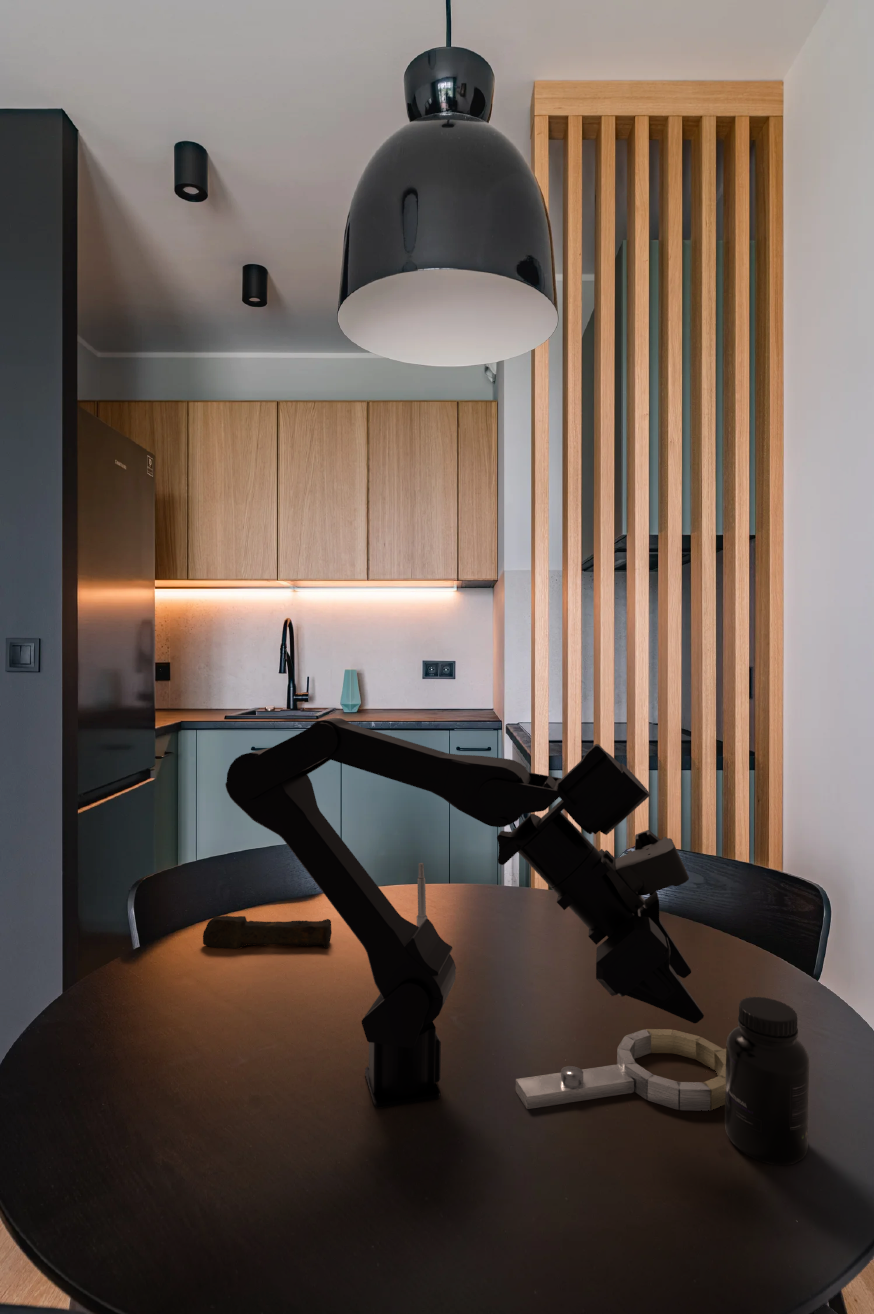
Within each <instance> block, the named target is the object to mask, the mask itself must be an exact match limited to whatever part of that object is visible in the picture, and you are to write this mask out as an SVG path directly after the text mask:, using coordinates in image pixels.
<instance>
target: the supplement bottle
mask: <svg viewBox="0 0 874 1314" xmlns="http://www.w3.org/2000/svg"><path fill="white" fill-rule="evenodd" d="M737 1025H738V1026H736V1027H735V1028H733V1029H732V1030H731V1031H730V1032H729V1034H728V1035H727V1037H726V1043H725V1044H726V1045H725V1046H726V1047H725V1049H726V1080H725V1105H724V1127H725V1132H726V1134H727V1137H728V1138H729V1140H730V1141H731V1143H732V1144H733V1145H734V1146H735V1147H736V1148H737V1149H738V1150H740V1151H741V1152H742V1153H744V1154H745V1155H747V1156H749V1157H750V1158H753V1159H754V1160H757V1161H760V1162H763V1163H766V1164H771V1165H777V1166H786V1165H787V1166H788V1165H793V1164H796V1163H798V1162H799V1161H801V1160H802V1159H804V1157H805V1156H806V1154H807V1151H808V1141H809V1109H810V1108H809V1106H810V1105H809V1104H810V1102H809V1101H810V1100H809V1099H810V1098H809V1097H810V1057H809V1054H808V1051H807V1050H806V1047H804V1045H803V1043H801V1041H800V1040H799V1039H798V1037H799V1028H798V1013H797V1011H796V1010H795V1009H794V1008H792V1007H791V1006H790V1005H787V1004H786V1003H784V1002H782V1001H779V1000H777V999H773V998H768V997H762V996H749V997H745V998H742V999H741V1000H740V1002H739V1003H738V1016H737Z"/></svg>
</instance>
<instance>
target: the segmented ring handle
mask: <svg viewBox="0 0 874 1314" xmlns="http://www.w3.org/2000/svg"><path fill="white" fill-rule="evenodd" d="M648 1033H650V1032H649V1031H648V1032H647V1030H646V1029H641V1030H638V1031H635V1032H633V1033H629V1034H627V1035H625V1036H623V1038H622V1040H621V1041H620V1043H619V1045H618V1046H617V1049H616V1050H617V1052H616V1055H617V1058H616V1064H611V1065H604V1066H598V1067H590V1068H585V1069H583V1068H582V1069H581V1068H579V1067H577V1066H574V1065H573V1066H572V1065H567V1066H564V1067H562V1068H561V1069H560V1072H557V1073H556V1072H555V1073H548V1074H543V1075H542V1074H541V1075H536V1076H529V1077H521V1078H515V1092H516V1094H517V1096H518V1097H519V1099H520V1100H521V1103H522V1104H523V1106H524V1107H525V1108H526V1109H527V1110H530V1109H536V1108H537V1109H538V1108H544V1107H550V1106H556V1105H562V1104H571V1103H575V1102H581V1101H583V1102H584V1101H588V1100H594V1099H595V1100H596V1099H603V1098H606V1097H607V1098H608V1097H614V1096H620V1095H626V1094H632V1093H636V1094H637V1095H639V1096H641V1098H643V1099H645V1100H646V1101H649V1102H651V1103H654V1104H658V1105H661V1106H665V1107H668V1108H671V1109H674V1110H676V1111H677V1110H679V1111H698V1112H699V1111H701V1110H702V1111H703V1112H704V1111H706V1112H709V1111H711V1110H710V1088H709V1087H707V1086H708V1085H704V1084H703V1083H705V1081H703V1082H699V1081H697V1082H696V1081H695V1082H694V1081H693V1082H692V1081H691V1082H690V1081H676V1080H673V1079H670V1078H666V1077H663V1076H659V1075H656V1074H653V1073H651V1072H650V1071H648V1070H647V1069H645V1068H644V1067H643V1066H641V1065H639V1064H638V1063H637V1062H636V1061H635V1060H636V1059H638V1058H641V1057H644V1056H646V1055H649V1054H652V1053H651V1035H649V1034H648ZM650 1034H651V1033H650ZM708 1110H709V1111H708Z"/></svg>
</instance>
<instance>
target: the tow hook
mask: <svg viewBox="0 0 874 1314" xmlns="http://www.w3.org/2000/svg"><path fill="white" fill-rule="evenodd" d="M424 868H425V866H424V862H420V863H419V862H418V877H417V879H416V880H417V882H416V883H417V915H416V926H418V927H419V926H420V925H421V924H422V923H423V921H424V920H425V919H429V918H428V915H427V905H426V904H427V903H426V902H427V901H426V898H427V897H426V895H427V894H426V877H425V871H424V870H425V869H424Z"/></svg>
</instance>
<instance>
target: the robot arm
mask: <svg viewBox="0 0 874 1314" xmlns="http://www.w3.org/2000/svg"><path fill="white" fill-rule="evenodd" d="M329 761H334V762H336V763H340V764H343V765H346V766H349V767H351V768H355V769H358V770H361V771H365V772H366V773H367V772H368V773H370V774H374V775H377V776H380V777H384V778H386V779H390V780H392V781H396V782H399V783H403V784H405V785H408V786H412V787H415V788H417V789H421V790H423V791H427V792H430V793H432V794H434V795H436V796H438V797H439V798H441V799H442V800H444V801H446V802H447V803H449V804H450V805H451V806H452V807H454V808H455V809H457V810H458V811H459V812H461V813H464V815H465V814H466V815H468V816H469V817H470V818H473V819H475V820H477V821H479V822H480V823H483V824H485V825H487V826H490V827H493V828H503V827H507V826H510V825H511V824H514V823H515V822H517V821H518V820H520V818H521V817H522V816H523V815H524V814H530V815H528V816H527V817H526V818H525V819H524V820H523V821H522V822H521V823H519V825H518V826H516V827H515V829H513V830H512V831H506V830H501V831H500V832H499V833H498V834H497V837H496V840H497V844H498V856H497V863H498V865H500V866H504V865H505V864H506V863H508V862H509V861H510V860H511V859H512V858H513V857H514V856H515V855H516V854H517V853H518V854H519V855H520V856H521V857H522V858H523V860H525V861H526V862H527V863H528V865H529V866H530V867H531V868H532V869H533V870H534V871H535V872H536V873H537V875H539V876H540V878H541V879H542V880H543V881H544V882H545V883H546V884H547V885H548V886H549V888H551V889H552V890H553V892H554V893H555V894H556V895H557V899H556V903H557V904H558V905H559V907H560V908H561V909H562V910H564V911H565V910H567V909H568V908H569V909H570V910H571V911H572V912H573V914H575V915H576V917H577V918H579V920H580V921H581V922H582V923H583V924H584V925H585V927H587V928H588V938H589V939H590V940H591V941H592V942H593V943H594V944H595V945H597V947H596V951H595V952H596V957H595V960H596V961H595V967H596V968H595V979H596V980H597V982H598V983H599V984H600V986H602V987H603V988H604V989H605V990H606V992H607V993H608V994H609V995H611V997H614V996H618V995H619V997H622V998H623V997H625V996H626V997H628V998H629V997H630V998H632V999H635V1000H637V1001H640V1002H643V1003H645V1004H647V1005H648V1004H649V1005H650V1006H653V1007H655V1008H658V1009H660V1010H663V1011H664V1012H666V1013H670V1014H672V1015H673V1016H676V1017H678V1018H681V1019H683V1020H684V1021H688V1022H690V1023H692V1024H698V1023H699V1022H700V1021H701V1020H702V1019H704V1017H705V1015H704V1011H702V1009H701V1008H700V1006H699V1005H698V1003H697V1002H696V1000H695V998H694V997H693V996H692V994H691V993H690V991H689V989H687V987H686V986H685V984H684V983H683V982H682V980H681V978H682V979H686V978H687V977H689V976H690V975H691V973H692V968H691V967H690V965H689V964H688V962H687V960H686V959H685V958H684V956H683V954H682V953H681V951H680V949H679V947H678V946H677V944H676V943H675V941H674V940H673V938H672V937H671V935H670V934H669V932H668V929H666V927H665V925H664V923H663V922H662V920H661V919H660V899H659V894H658V891H661V890H663V889H666V888H669V887H672V886H673V887H679V886H682V885H684V884H685V883H686V882H688V881H689V879H690V876H689V875H688V871H687V869H686V867H685V864H684V862H683V860H682V858H681V856H680V854H679V852H678V850H677V847H676V845H675V844H674V842H673V840H672V838H671V837H670V838H669V837H667V836H664V837H662V839H661V838H660V837H658V836H657V835H656V834H654V833H653V832H652V831H651V830H649V829H647V830H644V831H641V832H638V833H636V834H634V850H632V849H629V850H628V851H627V853H626V854H624V855H622V856H619V857H617V858H616V857H614V855H613V854H611V853H610V851H609V850H608V849H606V850H604V849H603V848H601V849H599V850H598V849H597V848H596V847H595V846H594V845H593V843H591V842H590V840H589V839H588V838H587V837H586V836H585V835H584V834H583V833H582V832H581V831H580V830H579V829H578V828H577V827H576V826H575V825H574V823H572V822H571V820H569V818H567V816H566V815H565V814H564V813H563V810H564V811H565V812H566V813H567V814H568V815H569V816H570V817H571V819H572V820H573V821H574V822H575V823H576V824H577V825H578V827H580V828H581V830H583V831H585V832H586V833H587V834H589V835H592V834H594V835H596V834H598V833H599V832H601V834H602V835H606V836H607V835H608V834H610V833H611V832H612V831H613V830H614V829H615V828H616V827H617V826H618V825H620V823H622V822H623V821H624V820H625V819H626V818H627V817H628V816H629V815H631V814H632V813H633V812H634V811H635V810H636V809H637V808H638V807H639V806H640V805H641V804H643V802H645V801H646V800H647V799H648V798H649V797H650V796H651V793H650V792H649V790H648V789H647V788H646V786H645V785H644V784H642V782H641V781H640V780H639V779H638V778H637V777H636V775H634V774H633V772H631V770H630V769H629V768H628V767H627V765H625V763H620V762H619V761H618V760H617V759H616V758H614V757H613V756H612V755H611V754H610V753H608V752H607V751H606V750H605V749H604V748H603V747H602V746H601V745H600V744H599V743H595V744H594V745H593V746H592V747H590V749H588V751H587V752H586V753H585V755H584V756H583V757H582V759H581V760H579V762H578V763H577V764H576V765H575V766H573V768H572V769H570V771H568V772H567V773H566V774H565V775H564V776H563V777H562V778H561V777H556V776H552V775H545V774H542V773H541V774H540V773H536V772H535V773H534V772H529V771H528V769H527V768H526V767H525V766H524V764H522V763H520V762H519V761H516V760H514V759H510V758H504V757H503V758H502V757H496V756H495V757H493V756H487V755H476V754H475V755H474V754H473V755H472V754H458V753H447V752H444V751H441V750H437V749H435V748H432V747H429V746H424V745H422V744H418V743H415V742H412V741H408V740H405V739H403V738H399V737H395V736H392V735H389V734H386V733H382V732H379V731H376V730H373V729H369V728H365V727H363V726H359V725H357V724H353V723H350V722H349V721H347V720H345V719H344V718H341V717H331V718H327V719H321V720H318V721H315V722H314V723H312V724H311V725H310V727H308V728H306V729H304V730H303V731H301V732H299V733H298V734H295V735H293V736H292V737H289V738H287V739H286V740H283V741H282V742H280V743H278V744H275V745H273V746H272V747H268V748H264V749H259V750H255V751H251V752H247V753H243V754H241V755H239V756H238V757H235V759H234V760H233V762H231V763H230V765H229V768H228V770H227V773H226V781H225V783H224V785H225V789H226V793H227V794H228V796H229V798H230V799H231V800H232V801H233V803H235V805H236V806H238V807H239V809H241V810H242V811H243V812H244V813H245V814H246V815H247V816H248V817H249V818H250V819H251V820H252V821H254V822H255V823H257V824H258V825H261V826H262V827H264V828H266V829H267V830H268V831H270V832H272V833H274V834H276V835H278V836H279V837H280V838H281V839H282V840H283V841H284V842H285V844H286V845H287V846H288V848H289V850H291V852H292V853H293V854H294V856H295V857H296V859H297V860H298V861H299V862H300V865H302V867H303V868H304V869H305V871H306V872H307V874H309V876H310V877H311V879H312V880H313V881H314V882H315V884H316V885H317V886H318V888H319V889H320V890H321V892H322V893H323V894H324V896H325V897H326V898H327V900H328V901H329V903H330V904H331V905H332V906H333V908H334V909H335V910H336V912H337V913H338V914H339V916H340V917H341V919H342V920H343V921H344V922H345V924H346V925H347V927H348V928H349V929H350V930H351V932H352V933H353V934H354V936H355V937H356V938H357V940H358V941H359V943H360V944H361V945H362V946H363V948H364V951H365V952H366V954H367V956H366V957H367V958H368V963H369V965H370V967H369V968H370V970H371V974H372V978H373V982H374V984H375V987H376V989H377V990H378V992H379V995H378V997H377V998H376V999H375V1001H374V1002H373V1003H372V1005H371V1007H369V1009H368V1011H367V1012H366V1014H364V1017H363V1018H362V1019H361V1026H362V1028H363V1029H362V1030H363V1032H364V1035H365V1038H366V1040H367V1042H368V1066H366V1067H365V1068H364V1075H365V1078H366V1082H367V1084H368V1085H367V1086H368V1089H369V1091H370V1096H371V1099H372V1101H373V1102H372V1103H373V1106H374V1107H375V1108H378V1109H380V1108H386V1107H387V1108H388V1107H392V1106H393V1107H394V1106H400V1105H407V1104H414V1103H421V1102H427V1101H434V1100H438V1099H440V1098H441V1091H440V1089H439V1087H438V1085H437V1083H439V1082H440V1081H441V1057H442V1056H441V1055H442V1053H441V1051H442V1046H441V1045H442V1042H441V1040H440V1037H439V1035H438V1033H437V1030H436V1029H437V1027H436V1025H435V1023H434V1021H435V1020H436V1019H437V1018H438V1017H439V1015H440V1014H441V1011H442V1009H443V1007H444V1006H445V1004H446V1001H447V998H448V997H449V995H450V992H451V991H452V988H453V986H454V984H455V982H456V969H457V967H456V962H455V960H454V958H453V956H452V955H451V952H452V951H453V946H452V945H450V944H449V943H447V942H445V940H443V939H442V937H441V936H440V935H439V934H438V931H437V930H436V929H437V928H436V927H435V925H434V924H433V923H432V922H431V920H430V919H429V918H428V919H425V920H424V921H423V923H422V924H421V925H420V926H419V927H418V926H417V924H414V923H412V922H410V921H409V920H407V919H405V918H404V917H403V916H401V914H400V913H399V912H398V911H397V909H395V907H394V905H393V904H392V903H391V902H390V900H389V899H388V898H387V897H386V895H385V894H384V892H383V891H382V890H381V889H380V888H379V886H378V884H377V883H376V882H375V881H374V880H373V878H372V877H371V875H370V874H369V873H368V871H367V870H366V869H365V868H364V866H363V865H362V864H361V863H360V861H359V860H358V858H357V857H356V856H355V855H354V854H353V852H352V851H351V850H350V848H349V847H348V846H347V845H346V843H345V841H344V840H343V839H342V837H340V835H339V834H338V833H337V831H336V830H335V829H334V827H333V826H332V825H331V824H330V822H329V821H328V820H327V818H326V817H325V815H323V813H322V812H321V810H320V808H319V806H318V802H317V799H316V795H315V791H314V787H313V783H312V781H311V779H310V777H309V774H311V773H312V772H314V771H316V770H318V769H319V768H321V767H322V766H323V765H325V764H327V763H328V762H329ZM559 798H560V799H561V800H559V801H558V803H556V804H555V805H554V806H553V807H551V809H550V810H548V811H547V812H546V813H545V814H544V815H543V816H541V817H540V816H539V815H537V814H536V813H540V812H544V811H546V810H547V809H548V808H549V807H550V806H551V805H552V804H553V803H555V802H556V801H557V800H558V799H559ZM647 895H648V897H646V898H644V897H643V896H647ZM606 937H607V938H606ZM605 938H606V939H605ZM604 939H605V940H604ZM602 941H603V942H602ZM600 942H602V943H600ZM599 943H600V944H599ZM598 944H599V945H598ZM680 977H681V978H680Z"/></svg>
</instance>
